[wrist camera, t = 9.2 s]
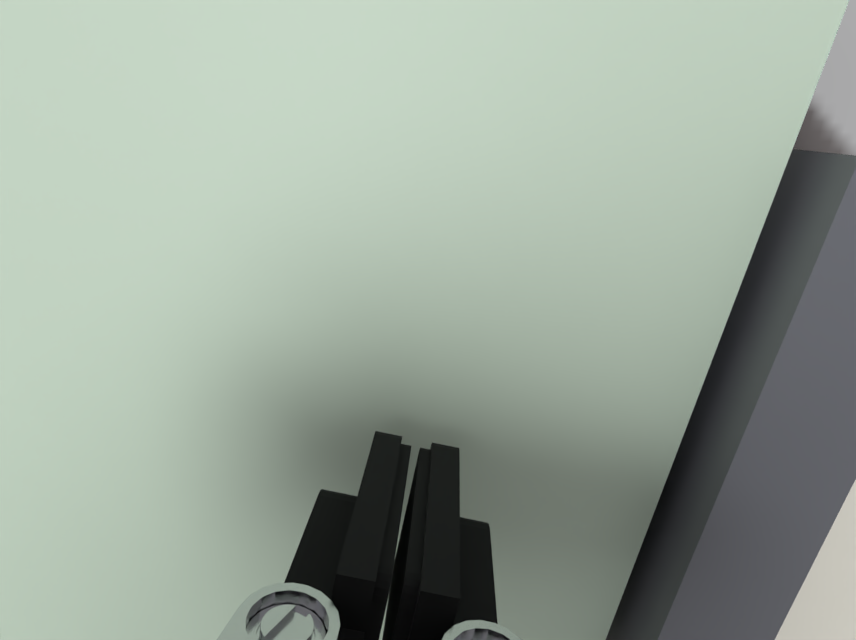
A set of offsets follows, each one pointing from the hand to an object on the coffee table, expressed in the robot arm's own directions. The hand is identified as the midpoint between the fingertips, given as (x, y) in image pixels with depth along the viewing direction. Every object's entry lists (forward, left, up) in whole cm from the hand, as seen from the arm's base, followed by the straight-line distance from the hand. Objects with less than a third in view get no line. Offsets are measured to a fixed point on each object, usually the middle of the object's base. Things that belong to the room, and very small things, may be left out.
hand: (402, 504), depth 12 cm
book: (+1, +2, -5) cm, 6 cm away
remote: (+1, -6, -2) cm, 6 cm away
